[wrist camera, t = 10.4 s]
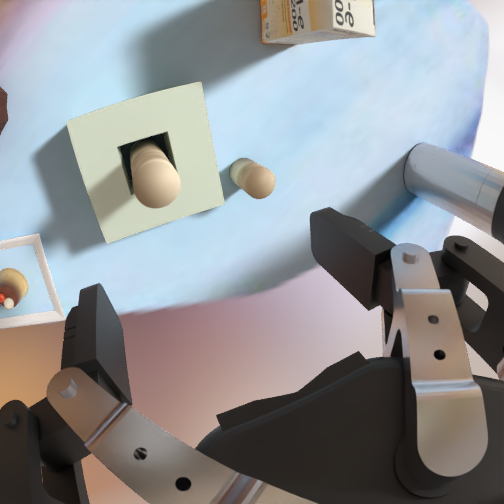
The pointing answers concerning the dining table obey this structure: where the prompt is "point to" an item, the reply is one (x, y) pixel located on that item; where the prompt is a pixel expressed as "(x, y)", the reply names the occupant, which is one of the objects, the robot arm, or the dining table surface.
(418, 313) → the robot arm
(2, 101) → the muffin
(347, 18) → the supplement box
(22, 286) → the dessert
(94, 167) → the hole block
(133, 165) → the long dowel
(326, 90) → the dining table surface
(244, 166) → the short dowel
